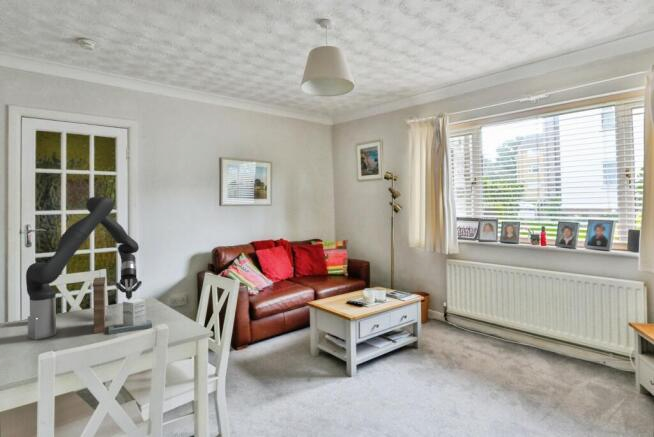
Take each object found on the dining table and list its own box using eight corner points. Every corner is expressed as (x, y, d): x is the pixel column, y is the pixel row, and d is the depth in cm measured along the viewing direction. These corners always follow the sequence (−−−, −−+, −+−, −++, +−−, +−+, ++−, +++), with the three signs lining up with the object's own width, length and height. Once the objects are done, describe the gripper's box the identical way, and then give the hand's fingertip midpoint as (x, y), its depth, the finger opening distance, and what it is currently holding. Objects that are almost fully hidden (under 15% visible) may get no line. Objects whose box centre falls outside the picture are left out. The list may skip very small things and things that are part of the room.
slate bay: (109, 329, 170) (109, 325, 170) (151, 323, 179) (150, 319, 179) (108, 334, 164) (108, 330, 164) (152, 328, 173) (152, 323, 173)
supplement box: (122, 326, 175) (122, 301, 174) (135, 322, 182) (135, 297, 181) (133, 328, 172) (132, 303, 171) (146, 324, 179) (146, 299, 178)
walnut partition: (104, 332, 166) (104, 283, 166) (93, 334, 164) (92, 284, 163) (105, 322, 181) (105, 277, 180) (95, 323, 178) (94, 277, 178)
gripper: (114, 267, 192) (114, 295, 181) (142, 266, 198) (143, 292, 188) (114, 276, 196) (114, 303, 186) (141, 274, 203) (142, 300, 193)
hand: (128, 297), depth 187 cm, fingers closed
